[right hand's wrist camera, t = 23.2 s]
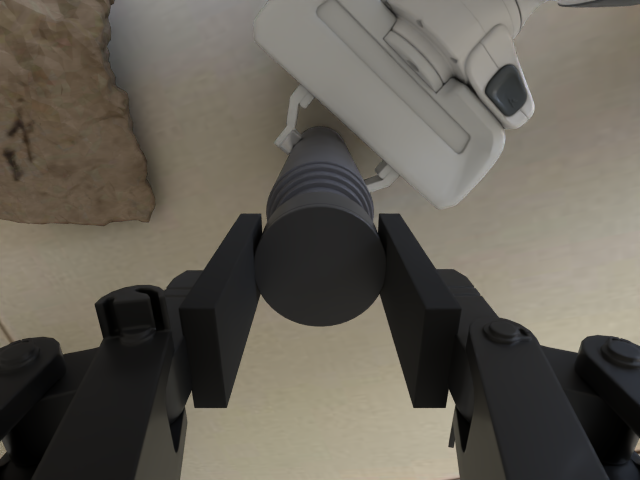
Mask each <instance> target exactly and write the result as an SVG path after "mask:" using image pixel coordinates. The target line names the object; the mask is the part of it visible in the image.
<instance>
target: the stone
mask: <svg viewBox="0 0 640 480" xmlns="http://www.w3.org/2000/svg"><path fill="white" fill-rule="evenodd" d="M114 1H115V0H0V219H3V220H10V221H14V222H18V223H32V224H47V223H60V224H69V223H72V224H81V225H99V226H105V225H106V224H108V223H110V222H120V221H128V220H139V221H141V222H149V220H150V217H151V213H152V211H153V210H154V208H155V197H154V195H153V192H152V189H151V186H150V184H149V183H148V181H147V179H146V177H147V160H146V158H145V156H144V153H143V152H142V151H141V149H140V145H139V144H138V143H137V140H136V138H135V135H134V134H133V121H132V119H131V117H130V114H129V98H128V94H127V93H126V91H124V90H122V89H120V88H118V87H117V86H116V84H115V75H114V73H113V71H112V70H111V68H110V63H109V62H108V59H109V55H110V53H109V50H108V48H107V45H108V42H109V41H110V40H111V27H110V24H109V21H108V16H109V13H110V7H111V6H110V5H112V4H114Z"/></svg>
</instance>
